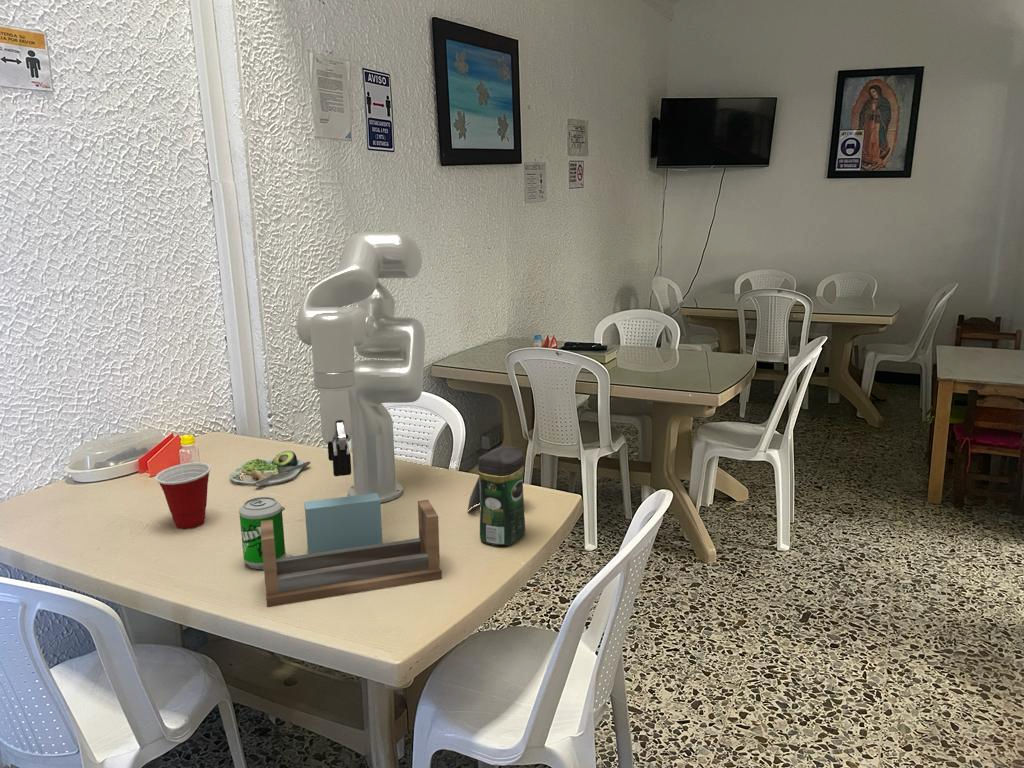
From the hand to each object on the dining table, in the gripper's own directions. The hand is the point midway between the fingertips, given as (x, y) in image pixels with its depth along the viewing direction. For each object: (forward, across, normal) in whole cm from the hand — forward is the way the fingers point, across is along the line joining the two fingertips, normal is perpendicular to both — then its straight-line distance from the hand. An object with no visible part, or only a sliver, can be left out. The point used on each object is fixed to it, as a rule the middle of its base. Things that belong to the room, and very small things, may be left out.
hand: (339, 467), depth 145 cm
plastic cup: (+17, -24, -30) cm, 42 cm away
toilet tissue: (+17, -10, +34) cm, 39 cm away
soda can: (+17, 0, -15) cm, 23 cm away
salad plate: (+17, -51, -13) cm, 55 cm away
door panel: (+17, -1, 0) cm, 17 cm away
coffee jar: (+17, +5, +31) cm, 36 cm away
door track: (+17, +12, 0) cm, 21 cm away
